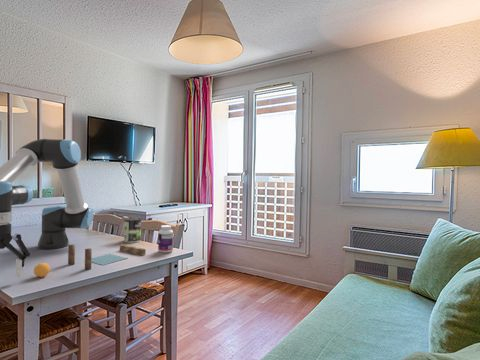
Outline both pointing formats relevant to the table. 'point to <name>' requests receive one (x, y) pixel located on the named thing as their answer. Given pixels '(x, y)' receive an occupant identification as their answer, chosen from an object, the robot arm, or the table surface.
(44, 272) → the ball
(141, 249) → the wooden bar
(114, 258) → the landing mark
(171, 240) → the pill bottle
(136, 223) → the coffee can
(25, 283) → the table surface
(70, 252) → the post
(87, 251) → the post
